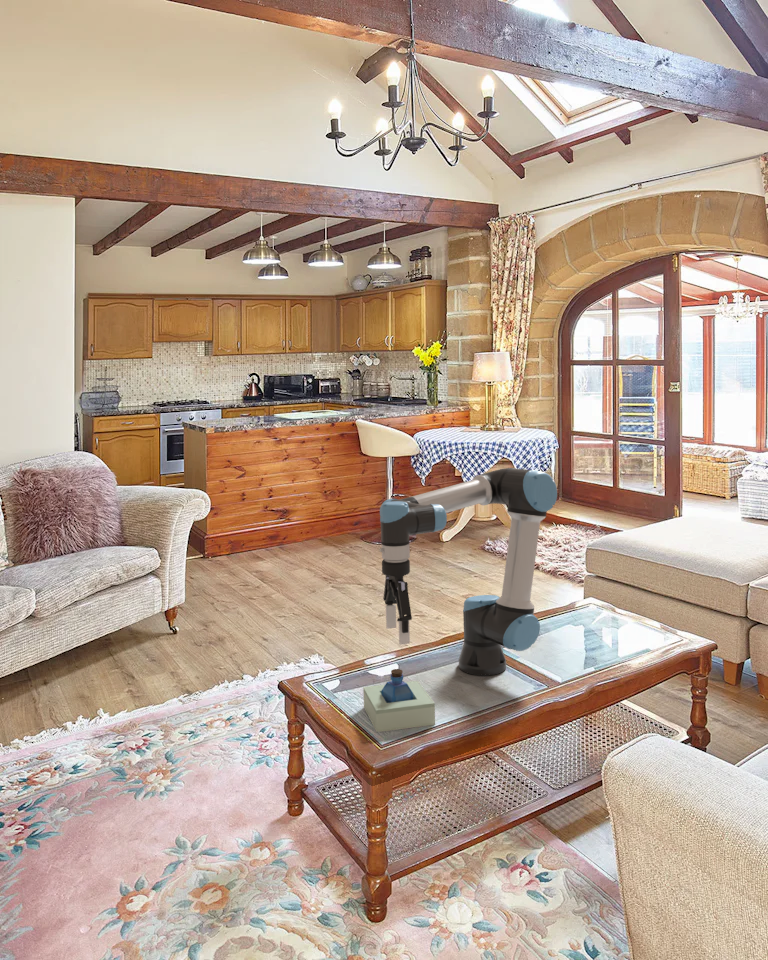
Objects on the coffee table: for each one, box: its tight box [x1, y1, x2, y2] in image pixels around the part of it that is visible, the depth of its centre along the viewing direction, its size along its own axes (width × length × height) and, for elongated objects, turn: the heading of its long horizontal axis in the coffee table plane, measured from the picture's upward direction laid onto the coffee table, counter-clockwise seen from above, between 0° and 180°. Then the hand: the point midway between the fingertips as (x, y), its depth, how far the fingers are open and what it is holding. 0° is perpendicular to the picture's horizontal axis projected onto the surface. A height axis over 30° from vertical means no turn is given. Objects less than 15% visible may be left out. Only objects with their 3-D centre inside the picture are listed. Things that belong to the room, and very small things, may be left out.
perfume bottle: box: [382, 668, 413, 703], centre depth 206 cm, size 6×6×12 cm
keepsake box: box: [362, 680, 436, 733], centre depth 207 cm, size 16×16×6 cm
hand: (397, 635), depth 205 cm, fingers open, 13 cm apart
